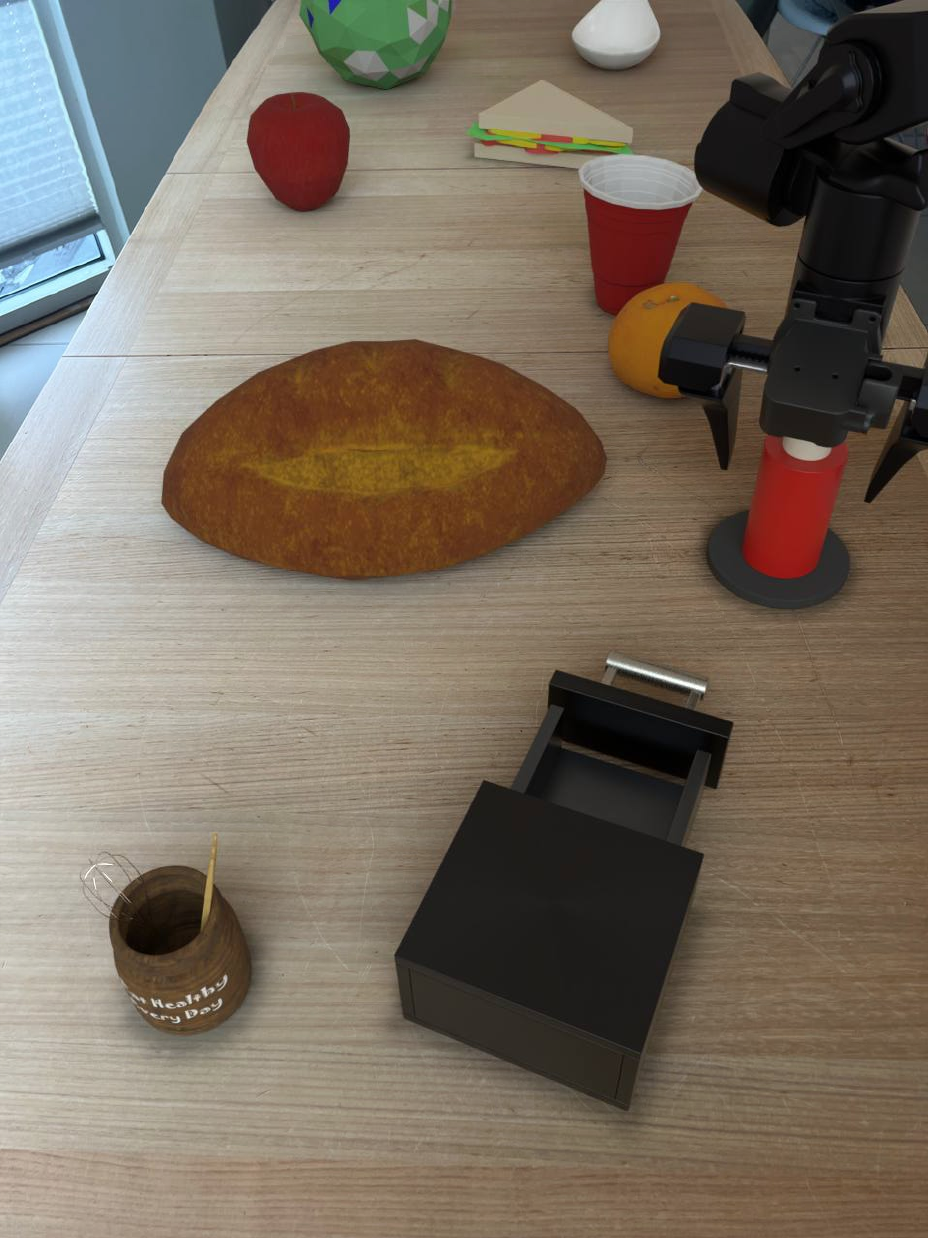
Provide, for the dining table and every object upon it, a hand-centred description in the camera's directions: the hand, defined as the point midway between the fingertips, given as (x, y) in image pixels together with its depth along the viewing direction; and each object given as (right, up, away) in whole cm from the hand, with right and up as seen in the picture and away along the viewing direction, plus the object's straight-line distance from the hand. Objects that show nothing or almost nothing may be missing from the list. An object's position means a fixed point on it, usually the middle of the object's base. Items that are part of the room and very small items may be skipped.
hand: (795, 482), depth 70 cm
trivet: (0, -5, +5) cm, 7 cm away
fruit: (-4, +11, +21) cm, 24 cm away
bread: (-27, 0, +11) cm, 29 cm away
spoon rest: (0, +71, +80) cm, 107 cm away
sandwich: (-11, +45, +55) cm, 71 cm away
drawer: (-13, -18, -9) cm, 24 cm away
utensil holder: (-35, -27, -16) cm, 47 cm away
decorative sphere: (-32, +63, +74) cm, 102 cm away
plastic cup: (-6, +21, +31) cm, 38 cm away
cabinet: (-17, -26, -16) cm, 35 cm away
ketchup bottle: (0, -4, +4) cm, 6 cm away
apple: (-39, +37, +47) cm, 71 cm away
